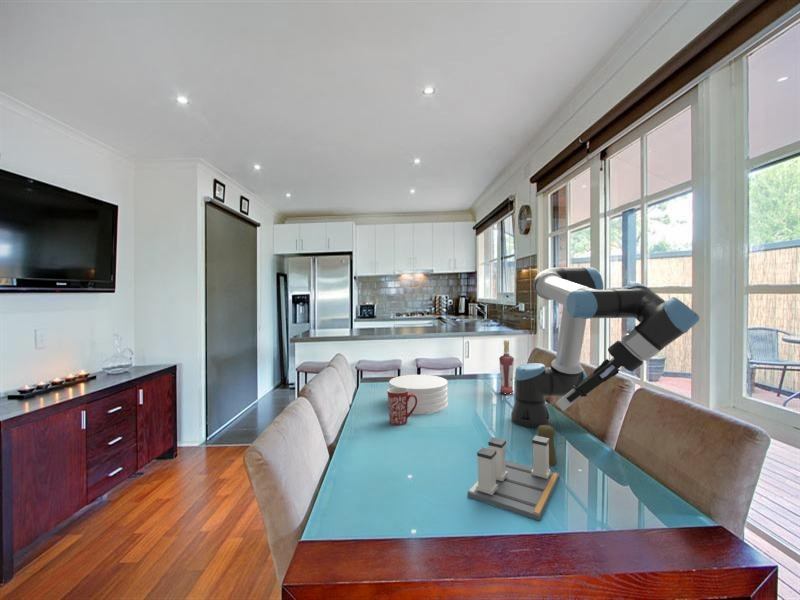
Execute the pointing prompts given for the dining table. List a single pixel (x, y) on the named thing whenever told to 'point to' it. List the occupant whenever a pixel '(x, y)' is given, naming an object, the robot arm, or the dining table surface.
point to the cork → (549, 433)
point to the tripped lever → (541, 457)
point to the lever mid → (499, 457)
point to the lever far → (487, 471)
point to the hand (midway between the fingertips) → (559, 406)
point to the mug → (399, 405)
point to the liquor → (506, 370)
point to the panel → (520, 491)
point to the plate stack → (423, 392)
